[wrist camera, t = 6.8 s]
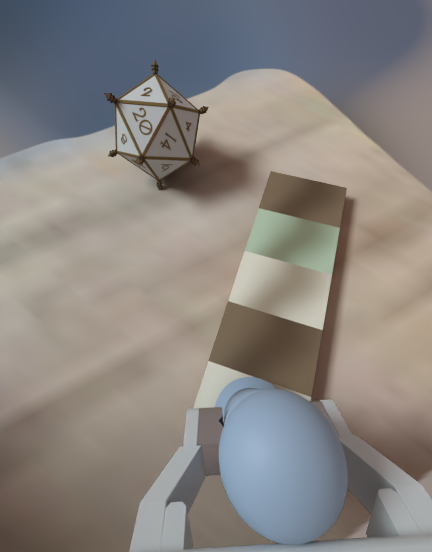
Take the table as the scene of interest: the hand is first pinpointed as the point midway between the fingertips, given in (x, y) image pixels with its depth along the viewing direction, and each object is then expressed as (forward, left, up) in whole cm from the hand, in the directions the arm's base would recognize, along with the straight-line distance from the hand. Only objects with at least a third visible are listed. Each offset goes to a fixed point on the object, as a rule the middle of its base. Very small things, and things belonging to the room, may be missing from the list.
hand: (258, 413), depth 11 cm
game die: (-14, +18, -7) cm, 24 cm away
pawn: (0, -1, -6) cm, 6 cm away
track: (0, +8, -7) cm, 11 cm away
